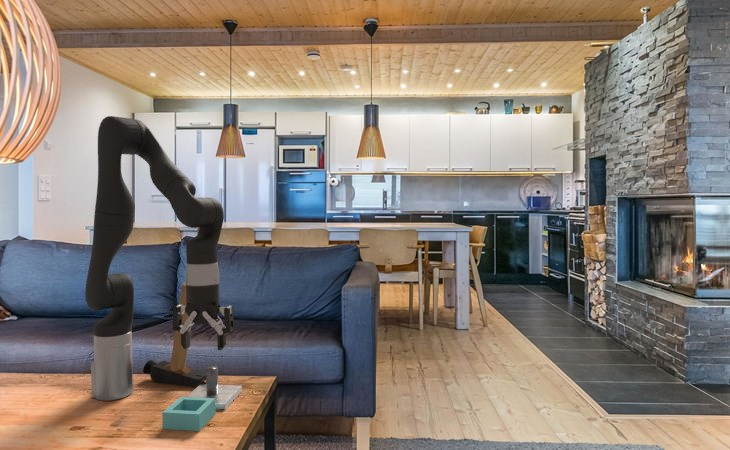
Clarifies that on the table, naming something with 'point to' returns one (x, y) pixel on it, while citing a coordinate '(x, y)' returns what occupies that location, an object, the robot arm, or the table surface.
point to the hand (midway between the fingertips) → (203, 348)
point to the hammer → (175, 361)
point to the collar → (189, 413)
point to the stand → (216, 390)
